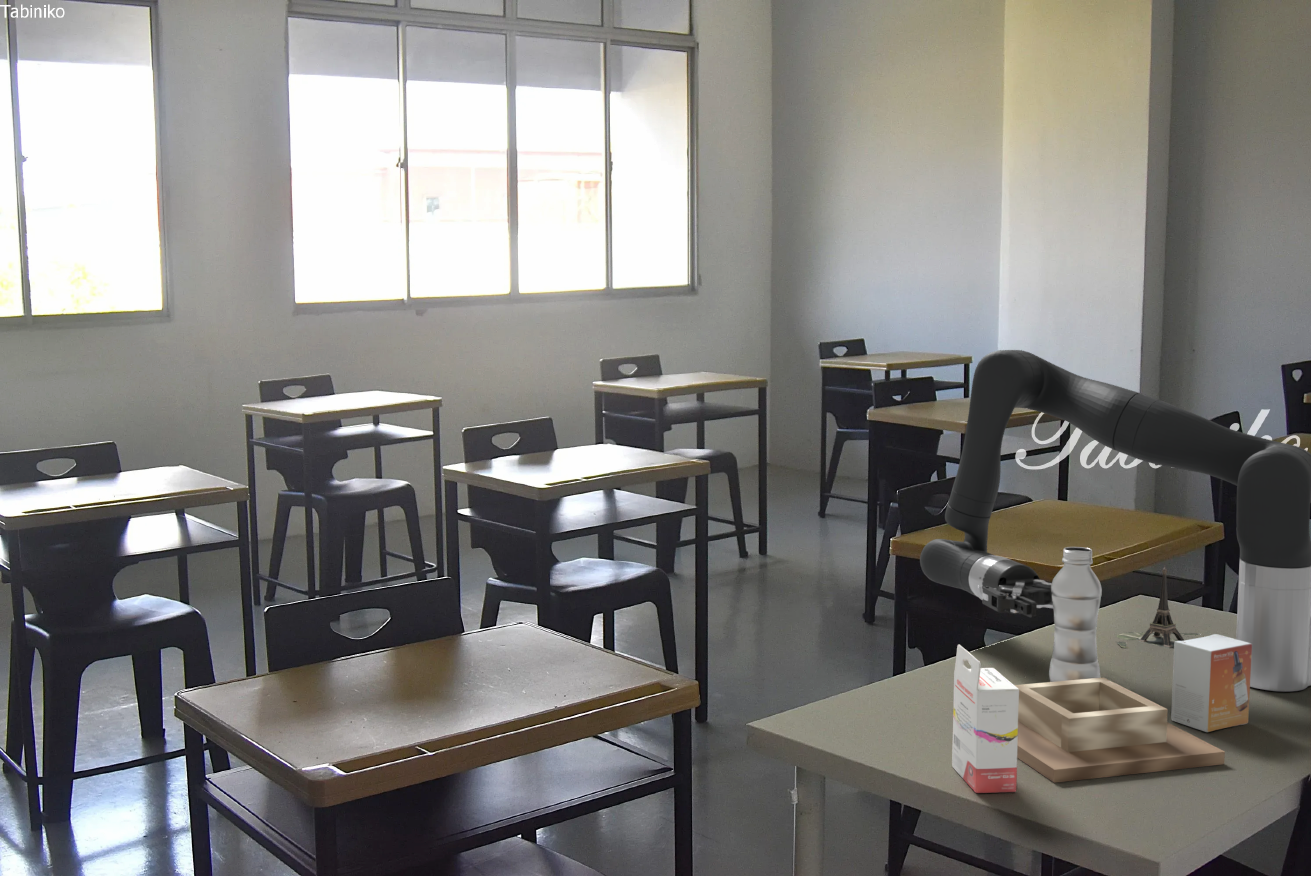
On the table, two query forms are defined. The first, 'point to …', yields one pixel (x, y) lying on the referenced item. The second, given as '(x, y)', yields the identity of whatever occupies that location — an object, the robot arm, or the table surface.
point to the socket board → (1101, 732)
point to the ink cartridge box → (984, 726)
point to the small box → (1211, 682)
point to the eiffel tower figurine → (1157, 625)
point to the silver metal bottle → (1075, 617)
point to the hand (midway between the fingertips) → (1062, 608)
